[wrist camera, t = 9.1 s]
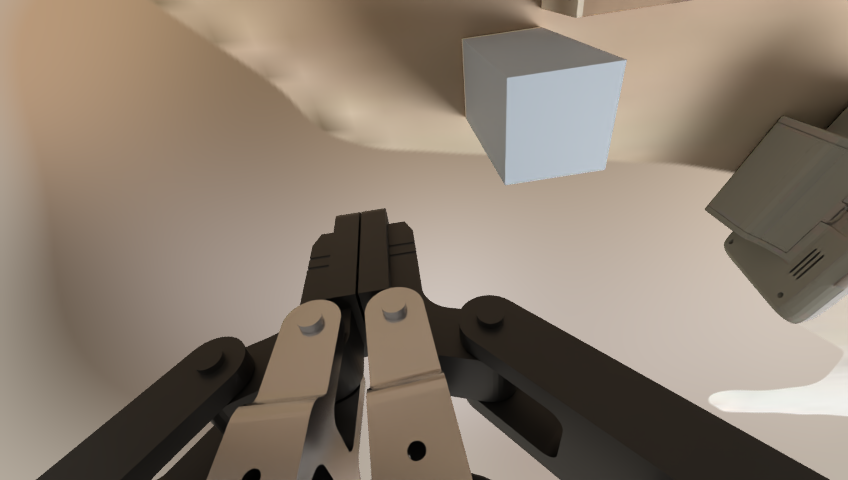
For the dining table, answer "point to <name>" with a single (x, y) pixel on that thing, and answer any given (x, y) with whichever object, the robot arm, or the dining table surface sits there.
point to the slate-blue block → (541, 102)
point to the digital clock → (791, 217)
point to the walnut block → (598, 6)
